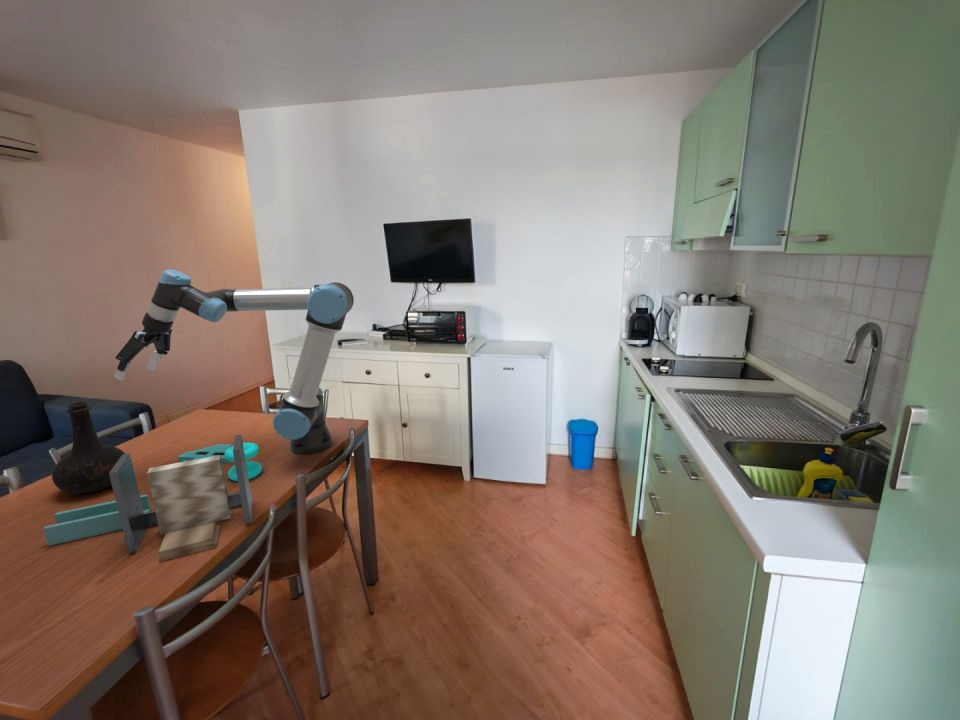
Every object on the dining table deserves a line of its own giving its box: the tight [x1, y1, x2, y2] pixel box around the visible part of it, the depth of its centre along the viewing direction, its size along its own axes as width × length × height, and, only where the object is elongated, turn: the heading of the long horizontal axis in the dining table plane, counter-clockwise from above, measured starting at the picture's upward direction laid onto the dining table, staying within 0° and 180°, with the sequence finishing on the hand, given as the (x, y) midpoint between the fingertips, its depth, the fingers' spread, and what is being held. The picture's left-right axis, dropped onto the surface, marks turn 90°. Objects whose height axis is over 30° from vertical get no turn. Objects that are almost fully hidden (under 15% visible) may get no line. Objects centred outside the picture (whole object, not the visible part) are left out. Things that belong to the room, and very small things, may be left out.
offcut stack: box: [158, 522, 221, 563], centre depth 109 cm, size 12×8×3 cm
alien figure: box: [172, 443, 234, 464], centre depth 154 cm, size 20×2×20 cm
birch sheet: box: [146, 455, 232, 536], centre depth 116 cm, size 16×3×18 cm, turn 116°
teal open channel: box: [42, 493, 152, 547], centre depth 117 cm, size 20×8×5 cm, turn 116°
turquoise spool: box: [225, 442, 263, 482], centre depth 142 cm, size 10×10×10 cm
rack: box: [109, 434, 254, 554], centre depth 114 cm, size 27×12×22 cm, turn 116°
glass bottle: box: [51, 401, 126, 495], centre depth 134 cm, size 18×18×28 cm
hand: (135, 374), depth 139 cm, fingers open, 13 cm apart
